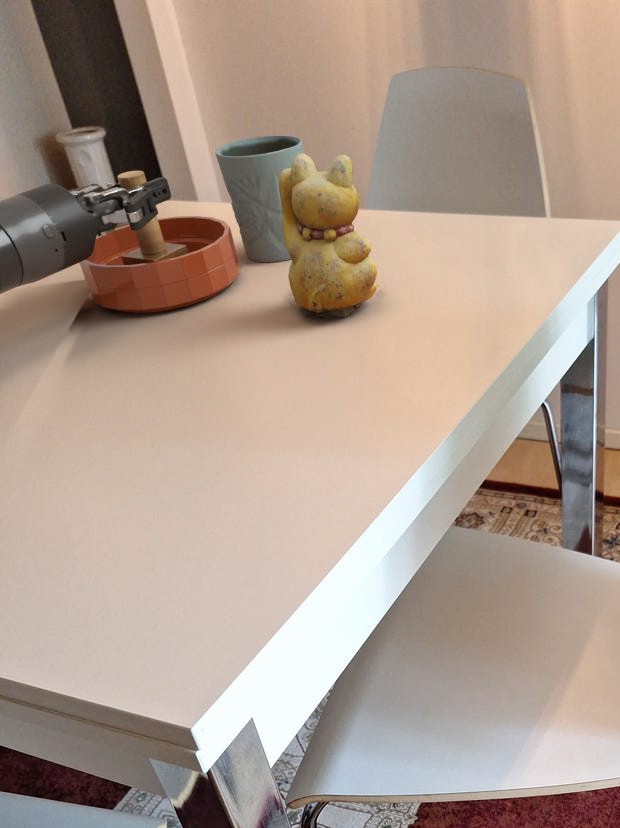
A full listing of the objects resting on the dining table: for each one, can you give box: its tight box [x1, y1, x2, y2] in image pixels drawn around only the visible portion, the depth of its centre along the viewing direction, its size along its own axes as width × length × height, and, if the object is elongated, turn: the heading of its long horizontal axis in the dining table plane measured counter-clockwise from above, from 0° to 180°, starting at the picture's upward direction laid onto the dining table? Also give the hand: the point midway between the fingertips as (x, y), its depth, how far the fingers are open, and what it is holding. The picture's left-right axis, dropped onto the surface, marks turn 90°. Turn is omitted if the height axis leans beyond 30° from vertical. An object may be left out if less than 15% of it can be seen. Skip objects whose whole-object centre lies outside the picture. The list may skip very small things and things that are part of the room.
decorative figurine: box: [278, 152, 378, 318], centre depth 94 cm, size 10×8×15 cm
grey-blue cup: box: [214, 135, 304, 263], centre depth 112 cm, size 10×10×12 cm
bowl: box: [79, 215, 241, 314], centre depth 107 cm, size 17×17×6 cm
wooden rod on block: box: [117, 170, 188, 265], centre depth 103 cm, size 5×5×12 cm
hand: (155, 186), depth 102 cm, fingers closed on wooden rod on block, 3 cm apart
